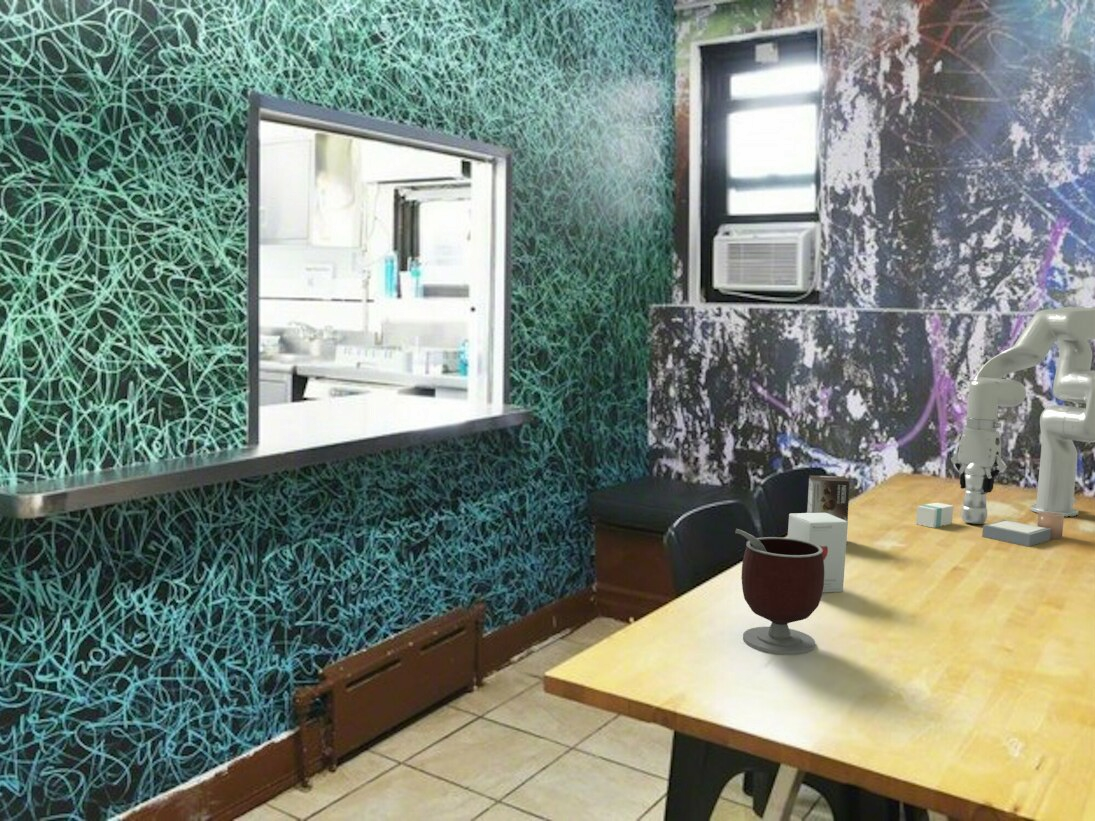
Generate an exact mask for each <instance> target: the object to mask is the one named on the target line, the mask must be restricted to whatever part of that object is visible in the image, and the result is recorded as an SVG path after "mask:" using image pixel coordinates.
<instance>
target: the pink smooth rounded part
mask: <svg viewBox="0 0 1095 821" xmlns="http://www.w3.org/2000/svg"><path fill="white" fill-rule="evenodd" d="M1037 514H1038V515H1037V523H1036V526H1039V527H1045V528H1050V529H1051V537H1050V540H1055V539H1058V540H1062V539H1063V529H1064V520H1065V516H1064V515H1062V514H1059V513H1053V512H1039V513H1037Z"/></svg>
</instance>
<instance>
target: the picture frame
mask: <svg viewBox="0 0 1095 821" xmlns="http://www.w3.org/2000/svg"><path fill="white" fill-rule="evenodd" d="M981 534H982V535H981V537H983V538H986V537H987V539H991V540H995V541H1002V542H1007V543H1010V544H1016V545H1019V546H1024V547H1028V546H1029V547H1032V545H1033V546H1036V545H1039V544H1042V543H1045V541H1046V542H1049V541H1051V539H1050V537H1051V529H1050V528H1045V527H1039V526H1037V525H1033V524H1029V523H1023V522H1019V521H1013V520H1008V519H1002V520H999V521H994V522H991V523H988V524H987V523H986V524H984V525H983V526H982V533H981ZM1035 544H1036V545H1035Z"/></svg>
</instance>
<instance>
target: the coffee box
mask: <svg viewBox="0 0 1095 821" xmlns="http://www.w3.org/2000/svg"><path fill="white" fill-rule="evenodd" d="M850 483H851V482H850V479H848V477H846V476H839V475H837V476H836V475H814V474H813V475H812V474H811V475H809V476H808V492H807V510H806V513H828V514H831V515H833V516H835V517H838V518H840V519H843V520H845V521H848V520H849V518H848V517H849V504H850V503H849V502H850V500H849V499H850V498H849V497H850ZM848 522H849V521H848ZM847 543H848V542H847V541H846V544H847Z"/></svg>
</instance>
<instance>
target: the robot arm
mask: <svg viewBox="0 0 1095 821" xmlns="http://www.w3.org/2000/svg"><path fill="white" fill-rule="evenodd" d="M1090 340H1095V307H1077V306H1076V307H1075V306H1073V307H1072V306H1067V307H1065V306H1064V307H1058V308H1055V309H1053V308H1047V309H1041V310H1039V311H1038V312H1036V313H1035V314H1034V315H1033V317H1032V318H1031V319H1030V321H1029V323H1028V324H1027V325H1026V327H1025V328H1024V330H1023V331H1022V333H1021V334H1020V336H1019V337H1018V339H1017V340H1016V342H1015V343H1014V345H1013V346H1011V347H1010V348H1009V347H1008V349H1006V350H1004V351H1002V352H1000V353H998V354H997V355H995V356H993V357H992V358H990V359H989V360H988V361H986V362H985V364H984V365H982V367H981V368H980V369H979V371H978V372H977V374H976V376H975V377H974V379H973V380H972V381H970V383H969V387H968V388H969V390H968V400H967V410H966V411H967V415H966V427H965V428H963V430H962V434H961V436H960V441H959V447H958V452H956V453H955V454H954V455H953V456H952V457H951V458H950V462H952V463H953V465H954V467H955V468H956V469H957V471H958V474H960V479H959V485H960V489H962V490H963V489H965V467H966V466H967V465H968V464H971V463H975V464H978V465H979V466H981V467H984V468H985V471H986V475H987V478H985V483H984V492H985V493H987V494H988V493H992V491H993V489H994V484H995V478H996V477H997V476H998V475H1000V474H1001V473H1003V472H1004V471H1005V470H1006V469H1007V468H1008V466H1007V464H1006V463H1005V461H1003V459H1002V458H1001V456H1002V449H1001V448H1002V443H1001V434H1000V433H1001V432H1000V431H998V429H1001V428H1002V423H1001V422H998V413H999V407H1005V408H1006V407H1007V408H1014V407H1017V406H1019V405H1021V404H1022V403H1023V402H1024V401H1025V399H1026V396H1027V389H1026V387H1025V385H1024V384H1023V383H1022V382H1020V381H1018V380H1016V379H1009V378H1003V377H1005V376H1008V375H1010V374H1012V373H1015V372H1018V371H1023V370H1026V369H1029V368H1034V367H1036V366H1038V365H1040V364H1041V363H1042V362H1043V361H1044V359H1045V357H1046V356H1047V355H1048V353H1049V352H1050V351H1051V349H1052V347H1053V346H1054V344H1055V343H1056V342H1057V345H1058V349H1059V354H1058V360H1057V361H1058V362H1057V366H1056V369H1055V370H1056V371H1055V375H1054V380H1053V386H1052V387H1053V388H1052V393H1053V396H1054V397H1055V398H1056V399H1057V400H1060V401H1063V402H1071V403H1078V404H1080V403H1081V404H1085V407H1079V406H1078V407H1077V406H1071V405H1060V404H1056V405H1051V406H1048V407H1046V408H1045V409H1043V411H1042V412H1041V414H1040V416H1039V427H1040V434H1041V435H1040V436H1041V447H1040V449H1041V450H1040V459H1039V460H1040V461H1039V472H1038V482H1037V493H1036V504H1035V503H1034V504H1031V505H1030V506H1029V507H1030V508H1029V510H1030V511H1032V512H1034V513H1037V514H1038V513H1039V512H1053V513H1059V514H1062V515H1064V518H1065V517H1066V518H1067V517H1068V516H1070V517H1077V516H1078V515H1079V510H1077V509H1076V508H1073V507H1074V504H1075V503H1076V501H1077V499H1076V497H1075V496H1074V495H1075V487H1076V486H1075V484H1076V478H1077V463H1078V452H1077V450H1078V449H1077V448H1076V445H1075V444H1074V441H1077V442H1085V443H1095V370H1091V367H1092V361H1093V350H1092V348H1091V345H1090V344H1089V343H1090V342H1088V341H1090ZM995 467H997V468H996V469H995ZM1076 515H1077V516H1076Z"/></svg>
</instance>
